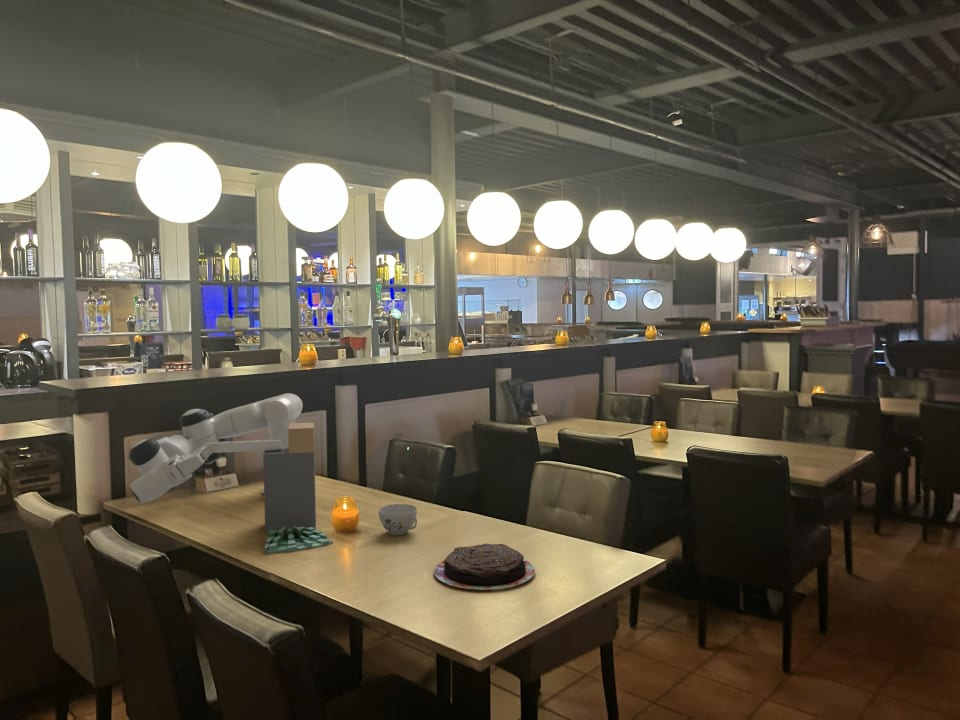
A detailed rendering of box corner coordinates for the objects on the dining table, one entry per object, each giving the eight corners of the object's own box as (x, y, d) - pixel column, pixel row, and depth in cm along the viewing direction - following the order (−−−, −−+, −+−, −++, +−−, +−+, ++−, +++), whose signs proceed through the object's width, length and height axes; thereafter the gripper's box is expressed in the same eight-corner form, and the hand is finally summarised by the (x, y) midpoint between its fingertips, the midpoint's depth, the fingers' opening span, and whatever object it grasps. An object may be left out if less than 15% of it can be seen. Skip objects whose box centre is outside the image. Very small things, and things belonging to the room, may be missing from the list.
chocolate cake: (447, 599, 186) (447, 573, 186) (424, 563, 213) (423, 540, 212) (550, 587, 194) (550, 562, 194) (515, 553, 221) (515, 531, 220)
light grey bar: (206, 451, 242) (206, 442, 242) (282, 448, 247) (281, 439, 247) (205, 453, 239) (204, 444, 239) (281, 449, 244) (281, 440, 244)
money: (305, 533, 242) (304, 519, 241) (333, 544, 230) (333, 529, 230) (248, 548, 227) (248, 532, 227) (275, 560, 216) (275, 544, 216)
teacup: (370, 533, 240) (370, 509, 239) (399, 524, 249) (398, 501, 249) (401, 543, 230) (401, 517, 229) (430, 533, 239) (430, 509, 239)
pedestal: (268, 522, 252) (265, 424, 250) (316, 519, 256) (313, 422, 253) (265, 533, 241) (262, 429, 238) (315, 530, 244) (313, 428, 241)
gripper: (190, 469, 250) (227, 448, 252) (178, 483, 230) (218, 460, 232) (180, 454, 249) (216, 432, 251) (167, 466, 229) (207, 443, 231)
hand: (217, 445), depth 241 cm, fingers closed on light grey bar, 3 cm apart
